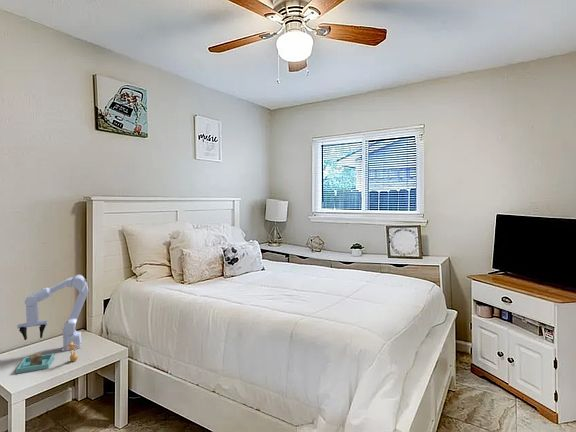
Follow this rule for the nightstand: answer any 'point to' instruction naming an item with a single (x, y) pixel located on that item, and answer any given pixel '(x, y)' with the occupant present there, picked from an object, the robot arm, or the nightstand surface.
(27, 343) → the nightstand surface
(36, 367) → the teal tray
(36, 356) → the walnut block
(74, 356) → the figurine
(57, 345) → the nightstand surface
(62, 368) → the nightstand surface
